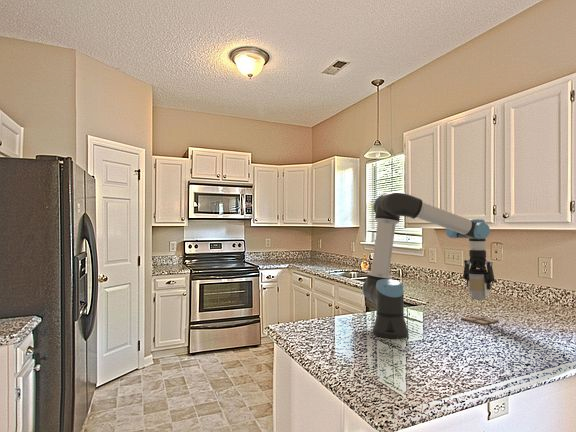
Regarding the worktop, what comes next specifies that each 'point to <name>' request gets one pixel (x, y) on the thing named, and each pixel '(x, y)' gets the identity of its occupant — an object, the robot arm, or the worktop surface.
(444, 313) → the worktop surface
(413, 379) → the worktop surface
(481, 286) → the coffee cup
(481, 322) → the plate
